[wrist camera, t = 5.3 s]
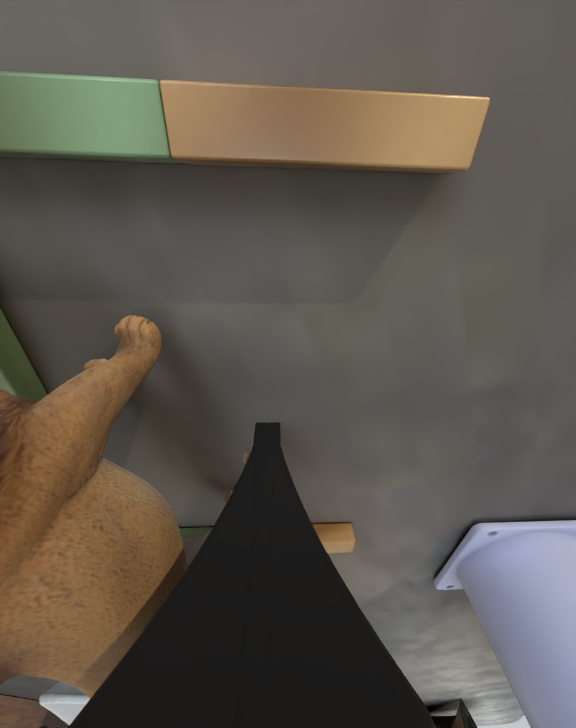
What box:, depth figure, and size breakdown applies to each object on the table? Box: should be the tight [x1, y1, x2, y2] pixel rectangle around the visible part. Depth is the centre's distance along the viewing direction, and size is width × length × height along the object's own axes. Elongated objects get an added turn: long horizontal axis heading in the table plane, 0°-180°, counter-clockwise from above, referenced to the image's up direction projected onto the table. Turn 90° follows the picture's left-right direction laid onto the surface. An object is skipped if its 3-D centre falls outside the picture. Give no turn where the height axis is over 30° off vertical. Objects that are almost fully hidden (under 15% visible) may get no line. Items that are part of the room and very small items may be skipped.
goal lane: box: [0, 71, 490, 553], centre depth 10 cm, size 14×18×1 cm
